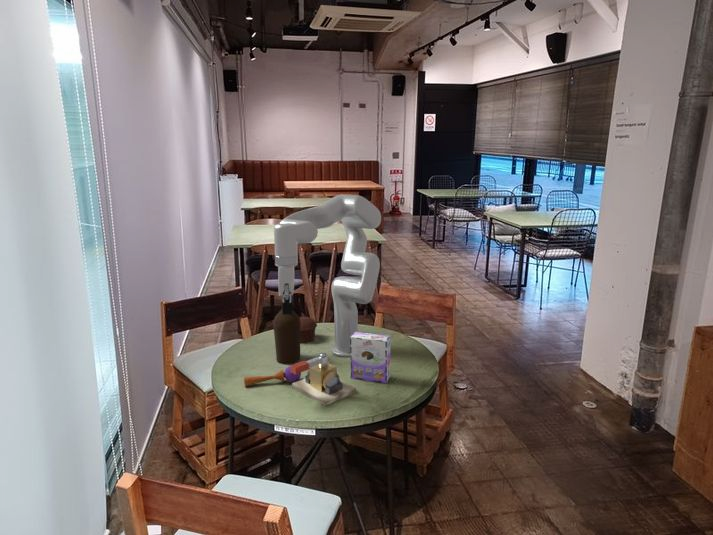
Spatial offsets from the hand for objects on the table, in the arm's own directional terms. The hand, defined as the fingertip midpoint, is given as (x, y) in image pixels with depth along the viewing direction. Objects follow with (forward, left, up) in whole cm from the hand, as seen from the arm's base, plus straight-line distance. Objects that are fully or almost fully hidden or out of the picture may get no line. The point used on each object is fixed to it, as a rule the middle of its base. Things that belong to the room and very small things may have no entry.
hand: (287, 309), depth 167 cm
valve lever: (-1, +10, -20) cm, 22 cm away
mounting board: (-7, +10, -28) cm, 31 cm away
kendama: (+3, -6, -29) cm, 30 cm away
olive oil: (-13, -19, -29) cm, 36 cm away
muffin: (-30, -31, -29) cm, 51 cm away
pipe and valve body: (-7, +10, -27) cm, 30 cm away
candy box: (-25, +15, -29) cm, 41 cm away
